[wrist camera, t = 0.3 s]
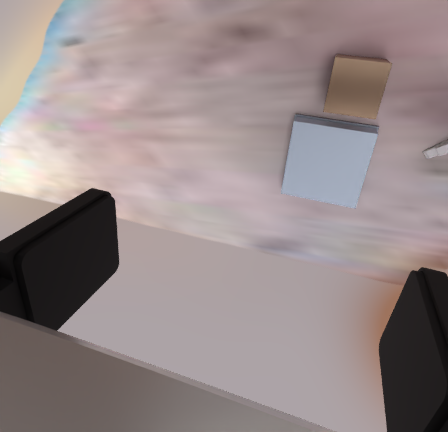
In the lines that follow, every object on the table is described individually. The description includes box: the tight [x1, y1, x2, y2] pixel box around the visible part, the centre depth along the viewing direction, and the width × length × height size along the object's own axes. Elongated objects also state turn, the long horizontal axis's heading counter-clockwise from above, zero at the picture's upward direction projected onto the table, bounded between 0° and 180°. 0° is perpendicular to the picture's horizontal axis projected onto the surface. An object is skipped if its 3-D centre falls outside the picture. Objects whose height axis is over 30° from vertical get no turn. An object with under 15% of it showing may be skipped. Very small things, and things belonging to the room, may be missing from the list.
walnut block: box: [323, 54, 392, 119], centre depth 35 cm, size 5×5×6 cm
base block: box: [281, 114, 379, 208], centre depth 41 cm, size 9×9×3 cm
